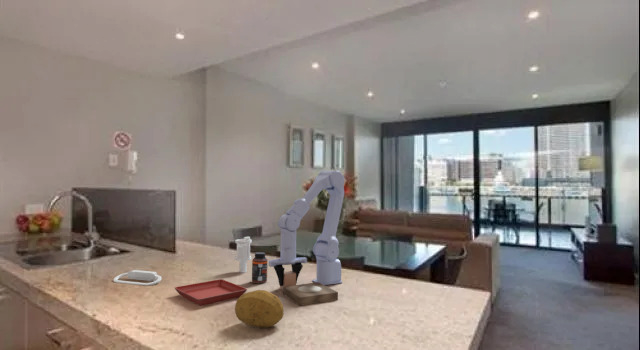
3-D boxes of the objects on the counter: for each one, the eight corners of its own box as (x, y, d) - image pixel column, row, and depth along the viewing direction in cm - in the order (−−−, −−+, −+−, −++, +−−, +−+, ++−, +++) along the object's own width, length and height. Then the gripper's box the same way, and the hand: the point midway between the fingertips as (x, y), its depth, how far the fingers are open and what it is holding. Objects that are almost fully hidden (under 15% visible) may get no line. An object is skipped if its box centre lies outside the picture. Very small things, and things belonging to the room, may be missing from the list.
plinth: (318, 289, 135) (318, 281, 135) (337, 299, 123) (337, 291, 123) (282, 293, 128) (282, 286, 128) (299, 305, 116) (300, 296, 116)
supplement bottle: (264, 284, 140) (264, 254, 141) (249, 283, 142) (249, 253, 142) (269, 280, 146) (269, 251, 147) (255, 279, 147) (255, 251, 148)
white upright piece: (254, 271, 161) (255, 237, 162) (243, 274, 155) (243, 238, 156) (242, 269, 165) (243, 235, 166) (231, 272, 159) (231, 237, 160)
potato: (275, 298, 93) (286, 285, 102) (227, 297, 96) (242, 284, 105) (277, 335, 93) (289, 318, 102) (229, 332, 96) (244, 316, 105)
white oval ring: (109, 286, 142) (107, 277, 141) (125, 276, 149) (124, 267, 149) (152, 291, 136) (151, 281, 135) (167, 280, 144) (165, 271, 143)
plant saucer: (221, 287, 137) (221, 278, 137) (248, 298, 124) (248, 288, 124) (173, 297, 124) (173, 287, 125) (197, 310, 112) (198, 299, 112)
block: (290, 286, 138) (291, 270, 138) (295, 289, 134) (296, 273, 134) (279, 288, 135) (279, 271, 136) (284, 291, 131) (284, 274, 132)
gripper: (273, 250, 128) (273, 289, 128) (310, 247, 135) (310, 284, 134) (266, 247, 134) (266, 284, 134) (302, 244, 141) (302, 280, 141)
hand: (287, 284), depth 135 cm, fingers open, 5 cm apart
